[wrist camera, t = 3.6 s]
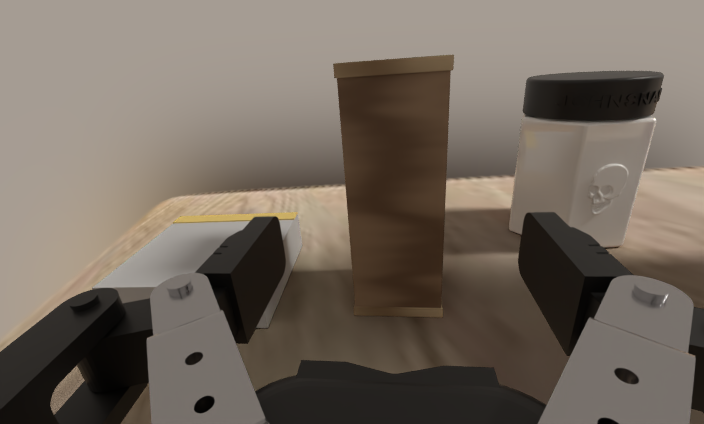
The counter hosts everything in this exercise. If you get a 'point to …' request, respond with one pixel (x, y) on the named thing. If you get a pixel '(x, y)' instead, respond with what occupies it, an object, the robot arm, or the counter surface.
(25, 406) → the robot arm
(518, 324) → the counter surface
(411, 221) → the tall brown wooden box
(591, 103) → the jar
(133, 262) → the notepad
